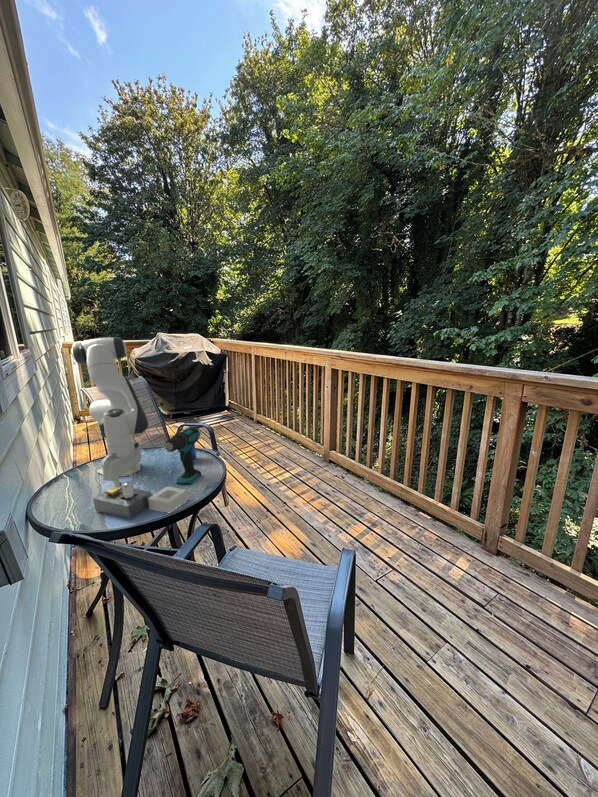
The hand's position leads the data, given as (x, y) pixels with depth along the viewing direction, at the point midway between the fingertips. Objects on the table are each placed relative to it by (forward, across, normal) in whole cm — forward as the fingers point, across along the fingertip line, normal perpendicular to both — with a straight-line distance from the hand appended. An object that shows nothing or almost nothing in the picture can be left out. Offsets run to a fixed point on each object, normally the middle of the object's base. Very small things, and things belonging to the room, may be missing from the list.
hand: (125, 481), depth 143 cm
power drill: (+13, +26, -13) cm, 32 cm away
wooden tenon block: (+13, +3, +9) cm, 16 cm away
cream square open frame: (+13, +5, -15) cm, 20 cm away
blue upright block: (+12, +50, -4) cm, 51 cm away
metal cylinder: (+13, +1, 0) cm, 13 cm away
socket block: (+13, +2, +4) cm, 14 cm away
